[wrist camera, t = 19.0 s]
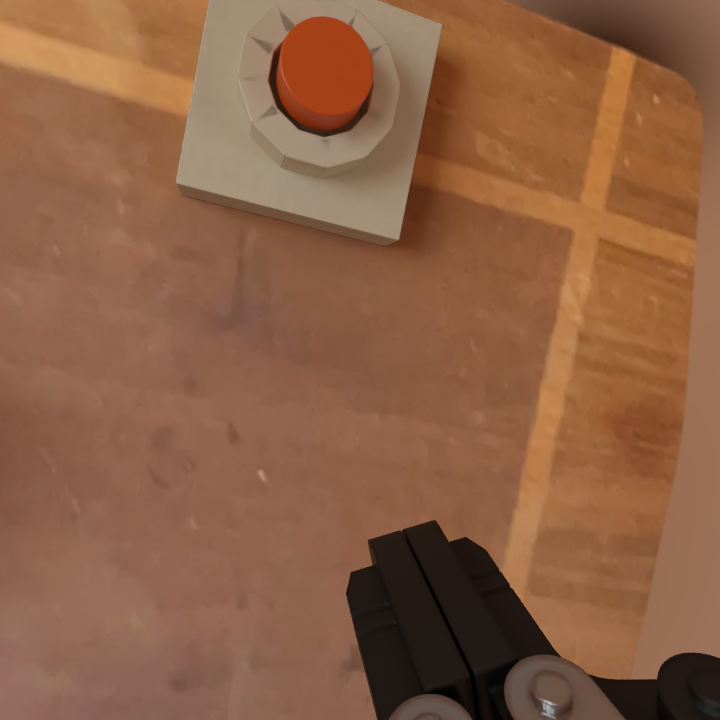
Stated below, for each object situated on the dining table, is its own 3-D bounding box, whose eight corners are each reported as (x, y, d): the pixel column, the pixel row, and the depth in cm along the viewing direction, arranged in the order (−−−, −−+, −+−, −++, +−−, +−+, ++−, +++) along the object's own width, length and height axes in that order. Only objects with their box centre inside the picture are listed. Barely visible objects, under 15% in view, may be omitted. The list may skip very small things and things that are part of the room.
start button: (370, 56, 21) (382, 33, 20) (353, 142, 21) (363, 127, 20) (285, 26, 20) (290, 1, 19) (268, 116, 21) (271, 99, 19)
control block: (425, 48, 25) (459, 0, 22) (385, 246, 26) (412, 234, 22) (221, -26, 23) (218, -94, 19) (180, 195, 23) (169, 171, 20)
